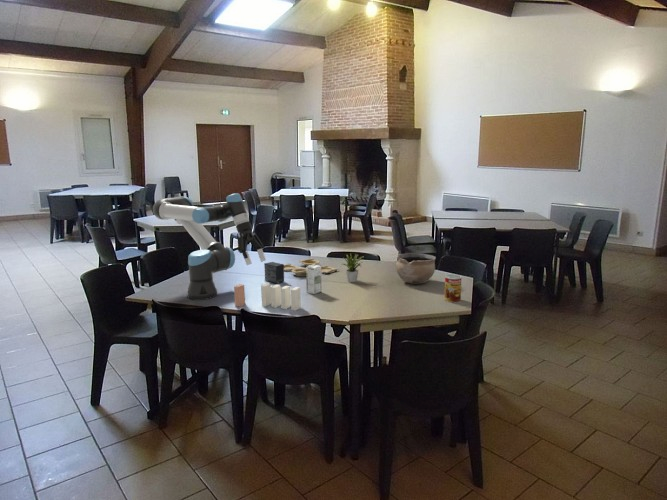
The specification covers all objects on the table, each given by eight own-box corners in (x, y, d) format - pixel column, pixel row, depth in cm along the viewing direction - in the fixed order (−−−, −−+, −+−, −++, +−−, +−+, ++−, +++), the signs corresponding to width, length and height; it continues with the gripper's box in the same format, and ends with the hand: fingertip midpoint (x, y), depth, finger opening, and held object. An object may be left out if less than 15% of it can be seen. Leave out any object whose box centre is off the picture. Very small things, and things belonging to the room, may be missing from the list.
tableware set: (342, 272, 304) (341, 266, 304) (300, 280, 288) (300, 273, 288) (311, 262, 333) (311, 256, 332) (272, 268, 317) (272, 262, 316)
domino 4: (281, 308, 238) (280, 288, 236) (286, 305, 243) (285, 285, 241) (285, 309, 237) (285, 288, 235) (290, 305, 242) (290, 286, 240)
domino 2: (261, 305, 243) (260, 286, 241) (267, 302, 247) (266, 283, 245) (266, 306, 242) (265, 286, 240) (271, 303, 246) (270, 283, 244)
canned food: (450, 303, 242) (451, 279, 240) (441, 299, 249) (441, 275, 247) (463, 301, 245) (464, 277, 243) (454, 296, 252) (454, 274, 250)
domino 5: (291, 309, 236) (290, 289, 234) (296, 306, 241) (295, 286, 238) (295, 310, 235) (295, 290, 233) (300, 307, 240) (300, 287, 237)
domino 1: (235, 306, 242) (234, 286, 240) (241, 303, 247) (240, 284, 245) (239, 307, 241) (238, 287, 239) (245, 304, 246) (244, 284, 244)
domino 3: (271, 307, 241) (270, 287, 239) (276, 304, 245) (276, 284, 243) (275, 307, 240) (275, 287, 238) (281, 304, 244) (280, 285, 242)
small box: (285, 281, 285) (284, 263, 283) (276, 284, 280) (275, 266, 278) (273, 278, 292) (272, 261, 290) (264, 280, 287) (263, 263, 285)
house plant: (363, 285, 275) (363, 256, 271) (338, 284, 277) (338, 255, 274) (366, 278, 288) (366, 251, 285) (343, 277, 291) (342, 250, 288)
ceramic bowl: (387, 282, 280) (387, 256, 276) (409, 275, 295) (410, 250, 292) (421, 290, 265) (421, 262, 262) (442, 281, 280) (443, 255, 277)
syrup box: (313, 290, 267) (313, 263, 264) (321, 292, 264) (321, 265, 261) (306, 292, 263) (305, 266, 260) (314, 294, 259) (314, 267, 256)
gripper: (234, 221, 240) (249, 263, 239) (261, 219, 262) (274, 257, 262) (222, 227, 243) (236, 268, 242) (250, 224, 265) (263, 262, 265)
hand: (256, 262), depth 252 cm, fingers open, 13 cm apart
